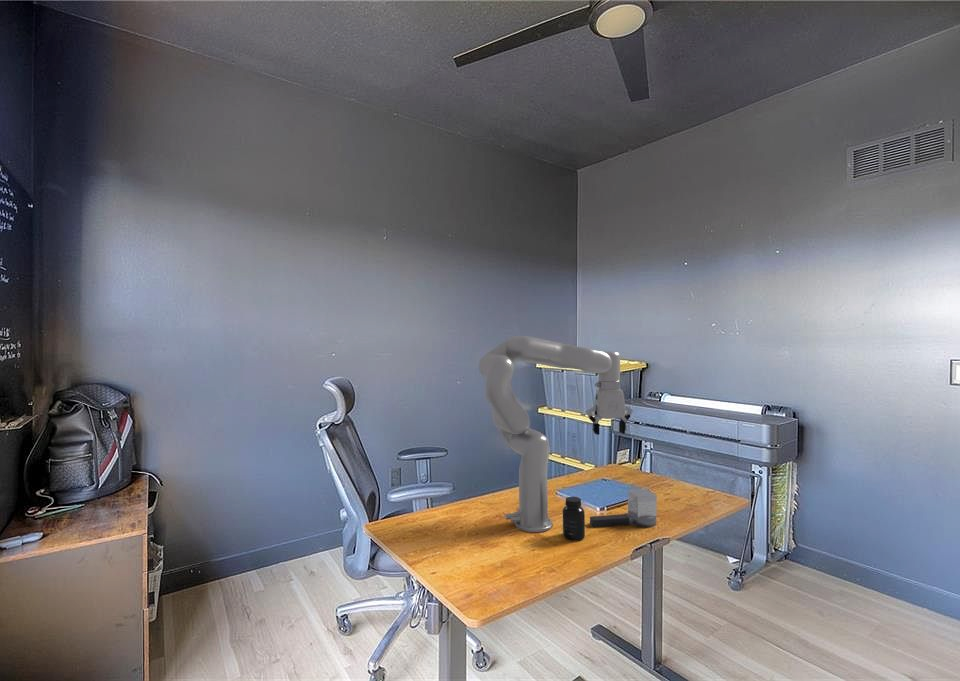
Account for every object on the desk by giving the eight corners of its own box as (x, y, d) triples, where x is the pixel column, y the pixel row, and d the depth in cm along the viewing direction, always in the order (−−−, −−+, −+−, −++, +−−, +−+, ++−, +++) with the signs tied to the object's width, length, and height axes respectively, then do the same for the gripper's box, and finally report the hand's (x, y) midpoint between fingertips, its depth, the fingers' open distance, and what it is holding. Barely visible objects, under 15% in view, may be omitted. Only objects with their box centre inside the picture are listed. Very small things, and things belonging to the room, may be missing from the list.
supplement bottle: (567, 530, 149) (567, 493, 149) (587, 535, 145) (587, 497, 145) (559, 538, 143) (559, 500, 143) (580, 543, 140) (580, 504, 139)
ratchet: (597, 531, 148) (597, 508, 148) (586, 520, 157) (586, 498, 157) (661, 526, 152) (661, 503, 152) (647, 515, 161) (647, 494, 161)
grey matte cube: (637, 517, 152) (637, 496, 152) (627, 509, 158) (627, 489, 158) (656, 516, 153) (656, 495, 153) (646, 508, 159) (646, 488, 159)
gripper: (590, 387, 159) (590, 436, 159) (636, 386, 162) (637, 434, 162) (582, 385, 166) (582, 432, 166) (626, 384, 169) (627, 430, 169)
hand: (609, 433), depth 164 cm, fingers open, 9 cm apart
